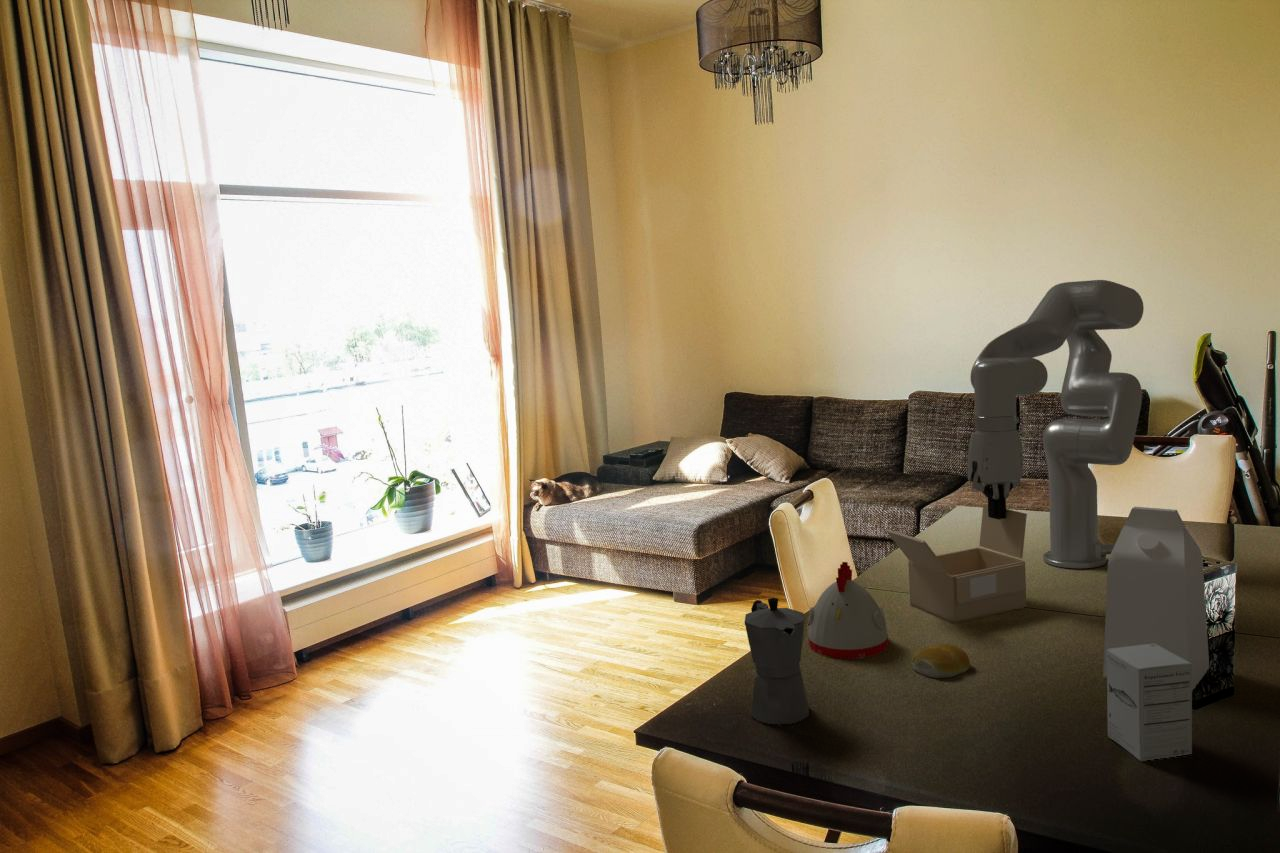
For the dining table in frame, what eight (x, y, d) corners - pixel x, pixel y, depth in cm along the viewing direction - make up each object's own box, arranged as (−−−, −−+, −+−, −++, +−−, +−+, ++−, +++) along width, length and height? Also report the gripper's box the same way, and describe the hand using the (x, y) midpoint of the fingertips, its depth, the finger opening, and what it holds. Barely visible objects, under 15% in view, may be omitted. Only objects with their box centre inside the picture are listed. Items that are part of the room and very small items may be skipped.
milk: (1209, 668, 145) (1208, 504, 142) (1190, 693, 137) (1189, 520, 134) (1125, 653, 153) (1123, 498, 150) (1103, 676, 145) (1099, 513, 142)
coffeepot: (827, 725, 136) (820, 606, 134) (766, 736, 134) (758, 615, 132) (787, 685, 151) (780, 578, 149) (732, 695, 149) (724, 586, 147)
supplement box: (1105, 737, 126) (1104, 647, 125) (1158, 731, 127) (1156, 641, 125) (1139, 763, 119) (1138, 668, 117) (1194, 756, 119) (1193, 661, 118)
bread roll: (979, 668, 153) (978, 645, 152) (943, 683, 148) (942, 659, 147) (938, 655, 159) (937, 632, 159) (902, 669, 155) (901, 646, 154)
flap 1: (911, 559, 183) (887, 528, 181) (949, 572, 173) (924, 540, 170) (909, 561, 183) (885, 530, 180) (947, 574, 172) (922, 542, 170)
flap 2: (981, 546, 189) (985, 503, 188) (1022, 558, 178) (1026, 513, 178) (979, 545, 189) (983, 503, 188) (1020, 558, 178) (1024, 513, 177)
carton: (977, 589, 191) (976, 546, 190) (1029, 608, 178) (1027, 562, 177) (908, 604, 186) (906, 560, 184) (956, 625, 172) (954, 577, 171)
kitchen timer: (799, 654, 164) (794, 572, 162) (819, 628, 176) (815, 551, 175) (879, 662, 158) (875, 576, 156) (894, 634, 170) (890, 554, 169)
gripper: (1012, 420, 186) (1014, 510, 188) (950, 426, 182) (952, 519, 183) (1040, 422, 179) (1041, 516, 181) (977, 429, 174) (978, 526, 176)
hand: (997, 517), depth 182 cm, fingers closed
